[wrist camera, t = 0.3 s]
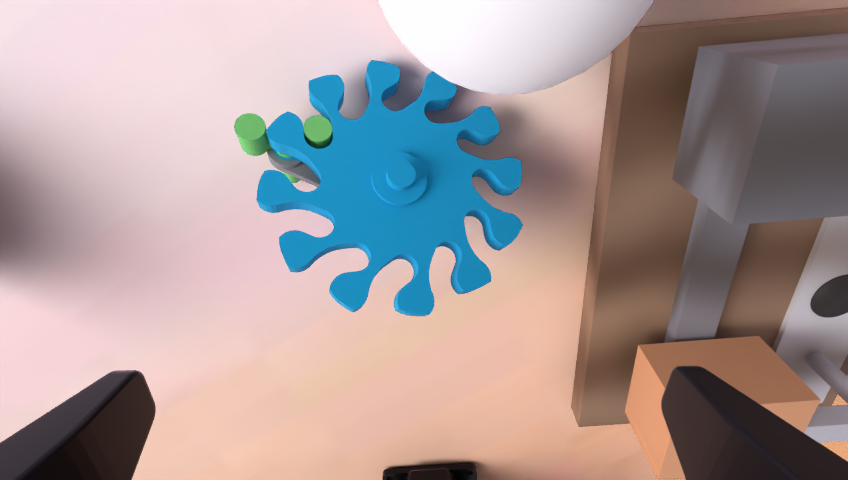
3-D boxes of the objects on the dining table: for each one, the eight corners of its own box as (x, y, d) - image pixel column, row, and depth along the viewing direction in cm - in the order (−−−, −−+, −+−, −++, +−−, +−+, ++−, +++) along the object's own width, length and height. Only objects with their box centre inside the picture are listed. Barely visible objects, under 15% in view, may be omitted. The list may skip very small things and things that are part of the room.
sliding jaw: (807, 391, 26) (879, 465, 22) (621, 404, 26) (658, 480, 22) (841, 322, 23) (928, 392, 19) (634, 337, 23) (678, 410, 19)
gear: (562, 121, 18) (482, 361, 15) (506, 177, 24) (439, 360, 21) (304, -6, 17) (161, 226, 14) (309, 84, 23) (208, 264, 20)
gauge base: (810, 389, 29) (909, 492, 23) (571, 406, 29) (610, 512, 23) (1003, -7, 18) (1286, 0, 12) (614, 29, 18) (708, 52, 12)
